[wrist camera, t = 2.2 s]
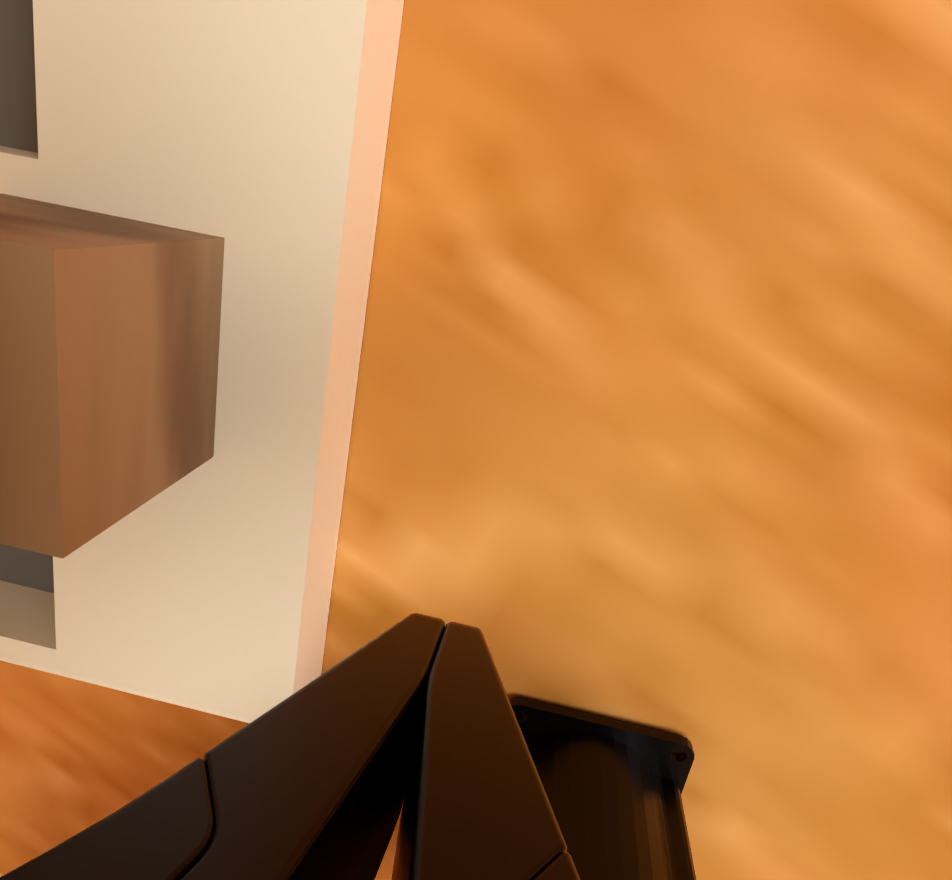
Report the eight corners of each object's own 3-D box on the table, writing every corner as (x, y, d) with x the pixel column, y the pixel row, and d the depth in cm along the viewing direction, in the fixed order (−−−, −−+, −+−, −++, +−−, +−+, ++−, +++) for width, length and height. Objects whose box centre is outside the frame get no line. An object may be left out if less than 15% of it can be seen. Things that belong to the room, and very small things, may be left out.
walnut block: (225, 238, 17) (53, 250, 12) (213, 456, 19) (62, 559, 14) (3, 193, 18) (-265, 184, 12) (15, 412, 20) (-211, 493, 14)
